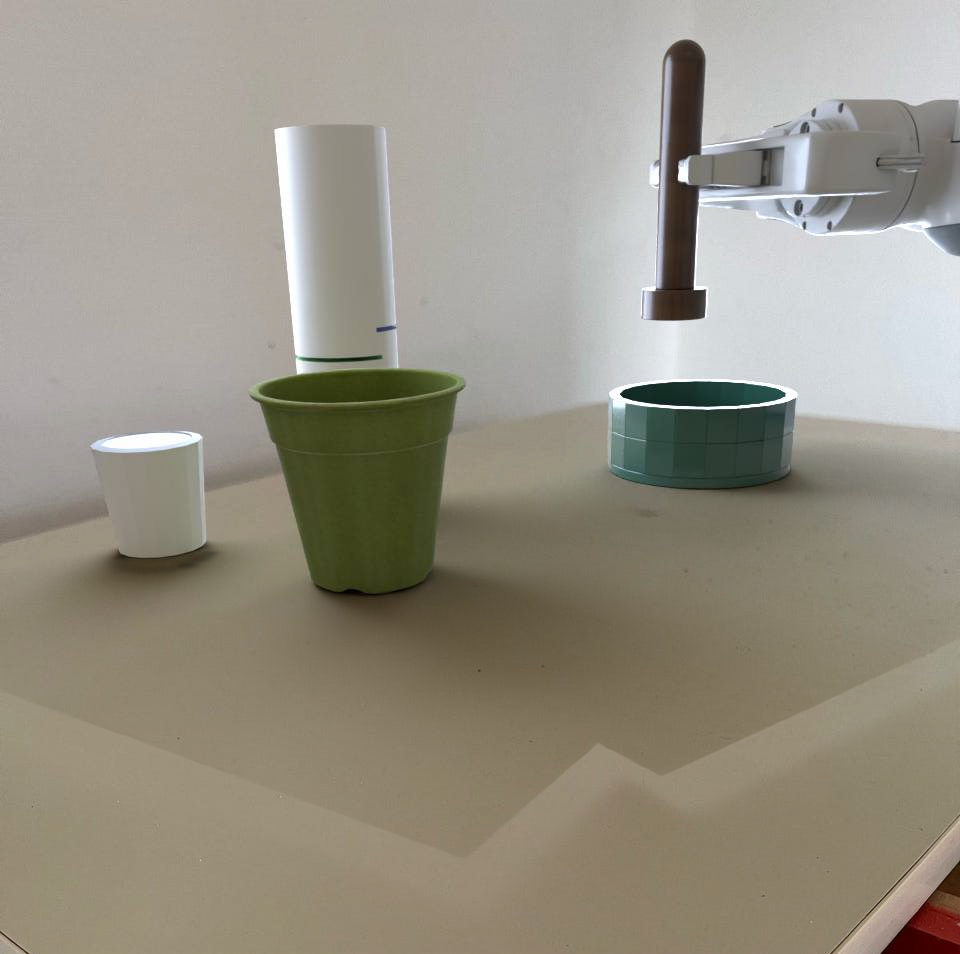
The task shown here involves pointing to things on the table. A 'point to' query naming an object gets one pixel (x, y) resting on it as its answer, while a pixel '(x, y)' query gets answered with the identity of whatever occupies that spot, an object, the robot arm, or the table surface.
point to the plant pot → (363, 469)
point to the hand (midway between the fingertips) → (667, 172)
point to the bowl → (701, 433)
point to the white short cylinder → (153, 491)
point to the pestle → (678, 189)
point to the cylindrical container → (338, 245)
